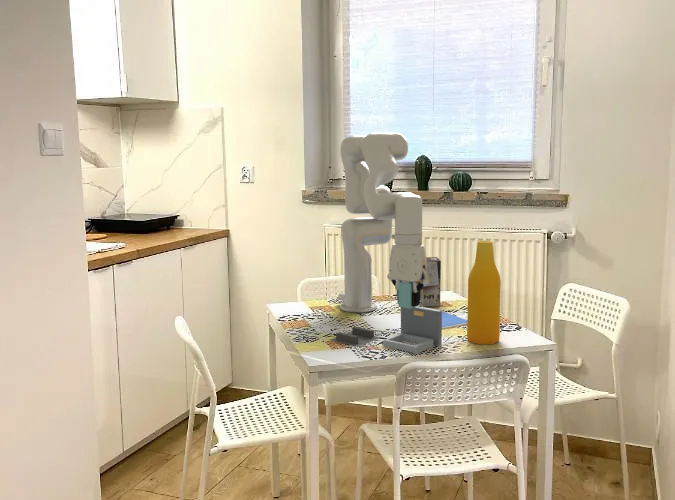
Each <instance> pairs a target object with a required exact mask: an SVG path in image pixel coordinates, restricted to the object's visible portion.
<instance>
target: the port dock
mask: <svg viewBox="0 0 675 500" xmlns="http://www.w3.org/2000/svg"><path fill="white" fill-rule="evenodd" d="M436 309H437V308H430V307H426V306H419V305H418V306H416V307H414V308H411V309H410V308H404V307H400V333H398V334H395V335H393V336H390V337H388V338H385V339H383V340H382V341H383V342H382V346H384V347H387V348H392V349H395V350H396V349H397V350H402V351H405V352H409V353H410V354H415V355H417V354H419V353H421V352H424V351H426V350H428V349H430V348H432V347H434V345H435V346H439V347H440V346H441V345H442V343H443V342H442V336H443V331H442V330H443V329H442V311H443V310H441V309H438V310H436ZM400 341H407V342H412V343H415V345H413V344H409V343H405V342H400Z"/></svg>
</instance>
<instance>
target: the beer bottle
mask: <svg viewBox="0 0 675 500" xmlns="http://www.w3.org/2000/svg"><path fill="white" fill-rule="evenodd" d="M475 251H476V252H475V259H474V263H473V266H472V268H471V269H470V271H469V275H468V278H467V319H466V320H467V325H466V326H467V327H466V338H467V340H468V342H470V343H473V344H477V345H494V344H496V342H497V343H498V342H499V339H500V332H501V329H500V327H501V325H500V324H501V322H500V319H501V288H502V287H501V285H502V282H501V276H500V272H499V270H498V267H497V266H496V262H495V255H494V253H495V252H494V242H493V241H492V240H478V241H477V244H476V250H475Z"/></svg>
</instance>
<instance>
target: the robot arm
mask: <svg viewBox="0 0 675 500" xmlns="http://www.w3.org/2000/svg"><path fill="white" fill-rule="evenodd" d="M339 149H340V151H339V152H340V159H341V162H342V165H343V169H344V174H345V175H344V176H345V181H344V183H345V195H344V196H345V207H346V208H345V209H346V211H347V212H348V213H349V214H353V215H369V214H370V216H371V217H369V216H368V217H366V216H363V217H352V218H349V219H346V220H344V221H343V222H342V224H341V227H340V234H341V239H342V247H343V263H344V264H343V270H344V271H343V272H344V273H343V274H344V275H343V276H344V293H339V294H338V295H337V297H336V299H337V301H342V302H341V304H339V305H340V310H342V311H344V312H348V313H369V312H373V311H375V310H377V303H375V302H373V263H372V262H373V260H372V256H371V254H370V253H369V251H368V250H367V249H366V248H365V247H366V246H375V245H385V244H388V243H389V242H391V240H394V243H392V245H391V249H390V253H389V254H390V255H389V265H388V274H387V276H386V278H387V279H388V280H389V281H390V282H391V283H392V284H393V286H394V288H395V290H396V300H397V301H398V282H401V281H407V282H412V286H413V292H412V306H413V307H414V306H417V305H418V306H419V305H420V304H421V301H420V291H422V289H423V288H424V287H425V286H426V285H428V284H430V283H431V280H430V278H429V276H428V275H427V261H426V257H427V253H426V247H425V245H424V244H423V199H422V197H421V196H420V195H417V194H414V193H412V192H408V191H407V192H406V191H404V192H403V191H401V192H397V191H395V192H391V190H390V188H389V187H388V186H385V185H387V184H389V183H390V182H392V181H393V180H394V179H395V178H396V177H397V175H398V174H399V165H398V162H397V161H402V160H405V158H406V157H407V155H408V152H409V144H408V141H407V138H406V137H405V136H404V135H403V133H399V132H372V133H369V134H367V135H352V136H348V137H345V138H343V140H342V141H341V143H340V148H339ZM393 220H394V234H393ZM421 280H423V282H422V283H421Z"/></svg>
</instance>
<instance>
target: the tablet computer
mask: <svg viewBox="0 0 675 500" xmlns="http://www.w3.org/2000/svg"><path fill="white" fill-rule="evenodd" d="M435 309H436V310H439V309H437V308H435ZM467 320H468V319H466V318H462V317H459V316H457V315H454V314H451V313H448V312H445V311H443V310H442V330H447V329H453V328H458V327H464V326H467Z"/></svg>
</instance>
